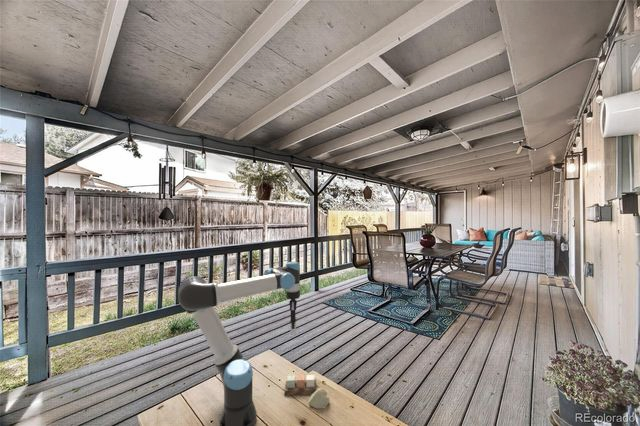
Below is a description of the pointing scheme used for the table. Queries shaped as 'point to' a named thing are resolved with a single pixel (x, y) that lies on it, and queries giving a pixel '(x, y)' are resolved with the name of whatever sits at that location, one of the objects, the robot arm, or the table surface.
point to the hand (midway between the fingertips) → (293, 333)
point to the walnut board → (299, 389)
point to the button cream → (310, 380)
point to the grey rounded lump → (319, 399)
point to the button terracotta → (300, 381)
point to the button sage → (291, 381)
